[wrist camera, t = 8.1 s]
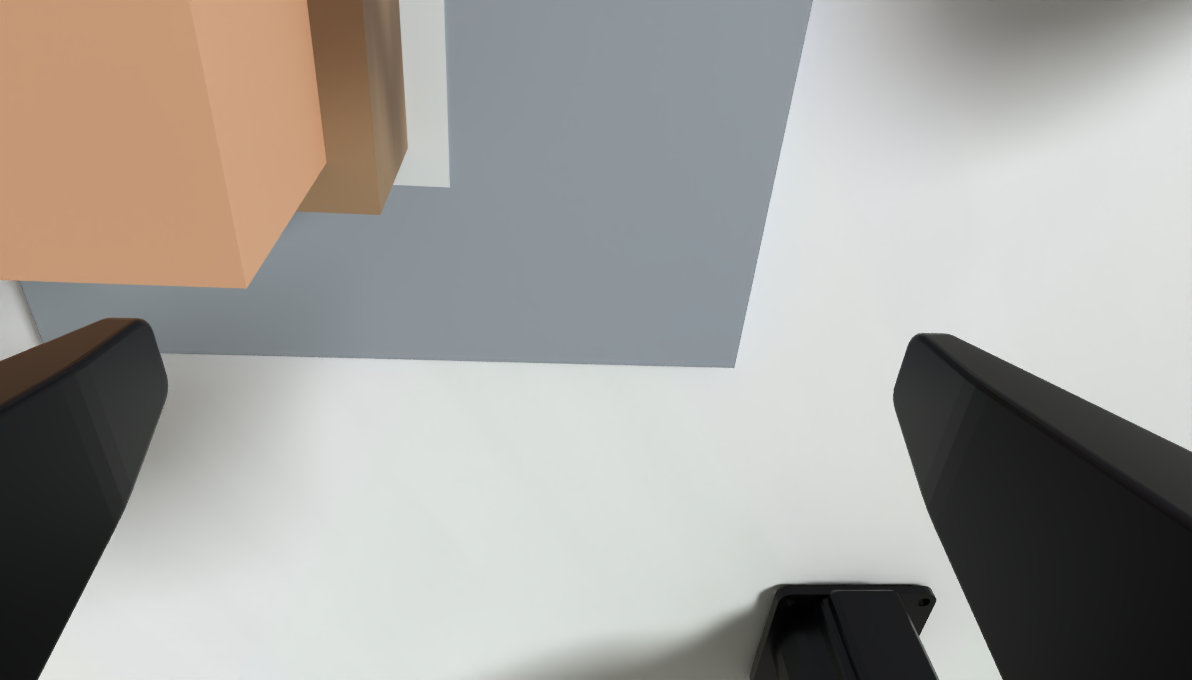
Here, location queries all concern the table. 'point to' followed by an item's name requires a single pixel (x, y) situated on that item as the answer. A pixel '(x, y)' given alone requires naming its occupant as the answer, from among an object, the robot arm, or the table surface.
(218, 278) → the top block
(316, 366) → the table surface
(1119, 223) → the table surface
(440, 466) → the table surface
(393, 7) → the base block
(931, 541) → the table surface
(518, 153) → the plate
